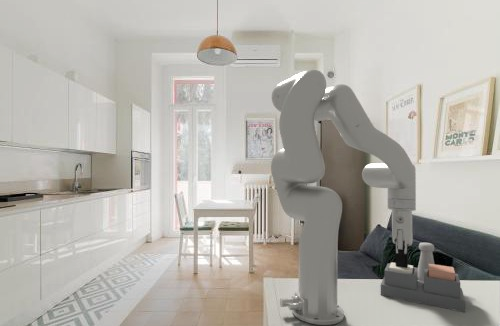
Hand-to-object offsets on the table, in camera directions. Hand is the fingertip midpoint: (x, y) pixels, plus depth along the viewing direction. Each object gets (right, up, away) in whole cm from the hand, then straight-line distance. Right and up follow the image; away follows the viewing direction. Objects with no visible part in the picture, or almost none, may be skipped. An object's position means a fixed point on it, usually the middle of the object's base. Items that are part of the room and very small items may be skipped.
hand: (401, 266), depth 89 cm
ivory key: (0, -3, 0) cm, 3 cm away
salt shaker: (+12, -8, +7) cm, 16 cm away
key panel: (+4, -8, -3) cm, 9 cm away
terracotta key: (+8, -2, -5) cm, 10 cm away
